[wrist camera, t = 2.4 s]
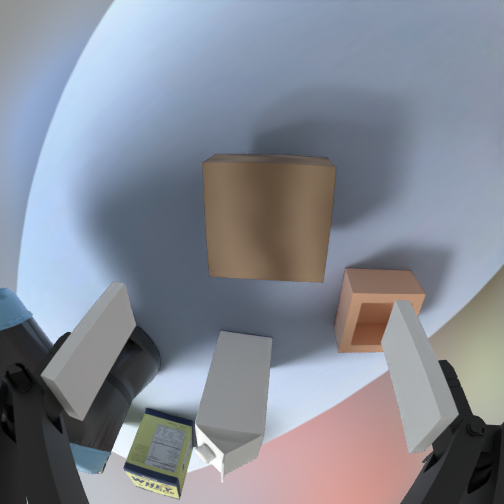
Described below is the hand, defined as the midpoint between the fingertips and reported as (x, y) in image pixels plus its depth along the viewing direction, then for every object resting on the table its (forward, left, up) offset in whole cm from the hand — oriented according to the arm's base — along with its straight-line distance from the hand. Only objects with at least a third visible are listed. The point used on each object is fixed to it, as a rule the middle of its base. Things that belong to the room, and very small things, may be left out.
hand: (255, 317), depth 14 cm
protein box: (-20, -52, -19) cm, 59 cm away
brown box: (0, 0, -16) cm, 16 cm away
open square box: (+13, -12, -19) cm, 26 cm away
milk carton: (-3, -22, -19) cm, 29 cm away
